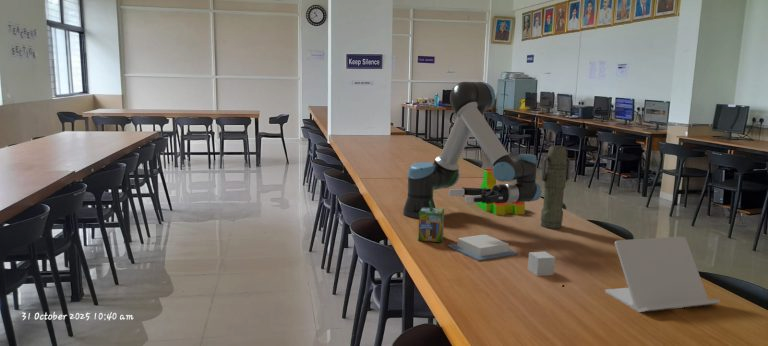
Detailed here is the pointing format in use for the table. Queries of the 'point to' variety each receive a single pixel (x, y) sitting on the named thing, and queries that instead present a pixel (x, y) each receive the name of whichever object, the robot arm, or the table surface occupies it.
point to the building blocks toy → (498, 208)
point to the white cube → (541, 263)
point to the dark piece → (554, 186)
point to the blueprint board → (481, 258)
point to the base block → (482, 245)
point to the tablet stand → (659, 275)
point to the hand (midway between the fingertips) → (457, 196)
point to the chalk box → (431, 224)
